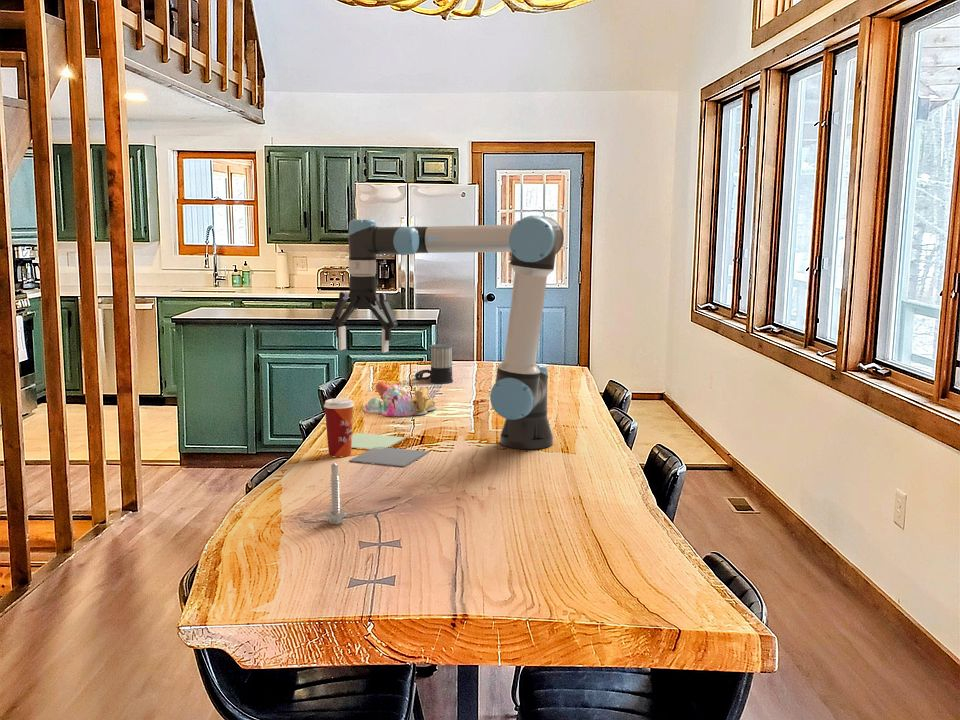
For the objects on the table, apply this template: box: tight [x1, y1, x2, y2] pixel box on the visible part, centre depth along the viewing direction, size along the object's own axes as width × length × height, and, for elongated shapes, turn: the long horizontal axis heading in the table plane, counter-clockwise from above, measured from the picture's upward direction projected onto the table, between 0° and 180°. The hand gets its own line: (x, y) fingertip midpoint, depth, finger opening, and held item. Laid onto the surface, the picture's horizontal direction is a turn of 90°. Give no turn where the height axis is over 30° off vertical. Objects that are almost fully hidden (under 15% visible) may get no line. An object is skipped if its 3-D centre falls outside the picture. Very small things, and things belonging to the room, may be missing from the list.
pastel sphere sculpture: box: [362, 381, 437, 418], centre depth 305 cm, size 25×24×9 cm
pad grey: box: [348, 447, 430, 468], centre depth 243 cm, size 16×16×1 cm
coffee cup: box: [323, 397, 355, 458], centre depth 245 cm, size 8×8×15 cm
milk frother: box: [414, 343, 454, 384], centre depth 362 cm, size 14×16×15 cm
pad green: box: [351, 432, 406, 451], centre depth 260 cm, size 16×16×1 cm
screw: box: [323, 462, 348, 526], centre depth 189 cm, size 13×5×5 cm
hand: (363, 350), depth 254 cm, fingers open, 13 cm apart
